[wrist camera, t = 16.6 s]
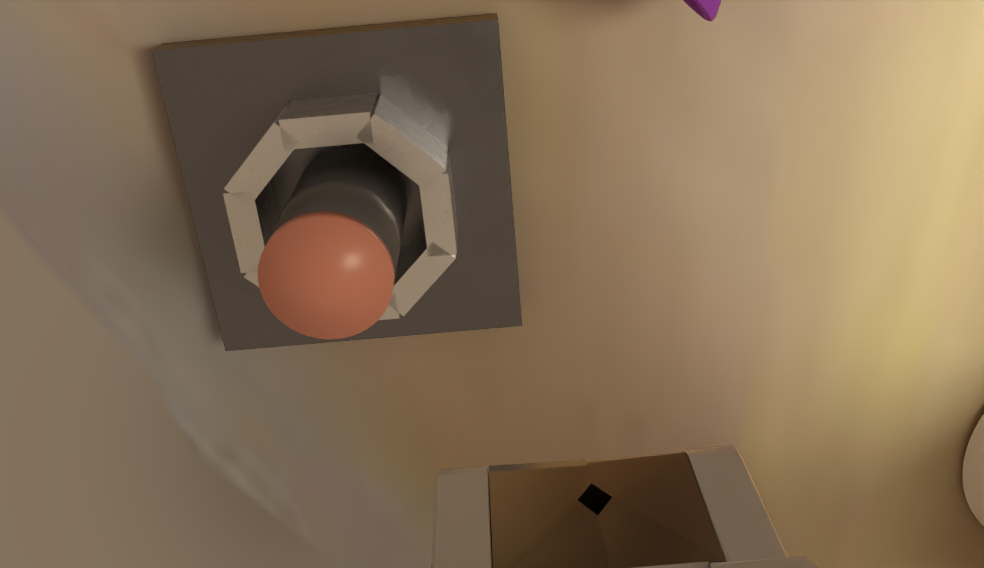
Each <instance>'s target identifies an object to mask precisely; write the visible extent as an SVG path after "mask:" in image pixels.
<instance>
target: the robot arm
mask: <svg viewBox="0 0 984 568" xmlns="http://www.w3.org/2000/svg"><path fill="white" fill-rule="evenodd" d="M962 477H963V488H964V493H965V497H966V500H967V503H968V505H969V507H970V509H971V511H972V513H973V514H974V516H975V517H976V518H977V520H978V521H979V522H980V523H981V524H982V525H983V526H984V414H983V415H982V417H981V418H980V420H979V422H978V424H977V425H976V427H975V429H974V431H973V433H972V435H971V438H970V440H969V443H968V446H967V449H966V453H965V457H964V463H963V474H962ZM431 568H822V567H821V566H819V565H818V564H816V563H814V562H813V561H811V560H810V559H808V558H807V557H805V556H797V557H788V554H787V552H786V550H785V548H784V546H783V544H782V542H781V539H780V537H779V535H778V533H777V531H776V529H775V527H774V524H773V522H772V520H771V518H770V516H769V514H768V512H767V509H766V507H765V505H764V503H763V501H762V499H761V497H760V494H759V492H758V490H757V488H756V486H755V484H754V482H753V479H752V477H751V475H750V473H749V471H748V469H747V467H746V464H745V462H744V460H743V458H742V456H741V454H740V452H739V450H738V449H736V448H735V447H734V446H732V445H729V446H720V447H711V448H702V449H693V450H684V451H683V452H682V453H670V454H658V455H647V456H635V457H624V458H612V459H601V460H589V461H586V460H578V461H562V462H546V463H529V464H513V465H497V466H489V470H488V468H487V467H472V468H459V469H445V470H439V472H438V474H437V477H436V484H435V504H434V525H433V546H432V566H431Z"/></svg>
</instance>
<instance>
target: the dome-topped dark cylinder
mask: <svg viewBox="0 0 984 568" xmlns="http://www.w3.org/2000/svg"><path fill="white" fill-rule="evenodd" d="M406 209H407V197H406V191H405V188H404V185H403V183H402V180H401V178H400V177H399V175H398V174H397V172H396V171H395V170H394V168H393V167H392V166H391V165H390V164H389V163H387V162H386V161H385V160H384V159H382V158H381V157H379V156H377V155H375V154H373V153H371V152H368V151H365V150H361V149H355V148H343V149H336V150H332V151H329V152H327V153H324V154H322V155H321V156H319V157H317V158H316V159H315V160H313V161H312V162H311V163H310V164H309V165H308V166H307V168H306V169H305V170H304V172H303V174H302V176H301V177H300V179H299V181H298V183H297V185H296V187H295V189H294V191H293V193H292V195H291V197H290V199H289V201H288V203H287V205H286V207H285V209H284V211H283V213H282V215H281V217H280V219H279V221H278V223H277V224H276V226H275V228H274V230H273V232H272V234H271V236H270V238H269V240H268V242H267V244H266V246H265V248H264V250H263V252H262V254H261V257H260V260H259V265H258V284H259V288H260V292H261V295H262V297H263V300H264V301H265V303H266V305H267V307H268V308H269V309H270V311H271V312H272V313H273V314H274V315H275V316H276V317H277V318H278V319H279V320H280V321H281V322H282V323H283V324H285V325H286V326H288V327H289V328H291V329H292V330H294V331H296V332H299V333H301V334H304V335H306V336H310V337H314V338H319V339H341V338H346V337H351V336H353V335H356V334H359V333H361V332H363V331H365V330H366V329H368V328H369V327H371V326H372V325H373V324H374V323H376V322H377V321H378V320H379V319H380V317H381V316H382V315H383V314H384V312H385V310H386V309H387V307H388V305H389V303H390V300H391V297H392V293H393V287H394V281H395V275H396V269H397V263H398V257H399V251H400V245H401V239H402V234H403V228H404V222H405V216H406Z"/></svg>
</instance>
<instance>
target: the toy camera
mask: <svg viewBox="0 0 984 568" xmlns="http://www.w3.org/2000/svg"><path fill="white" fill-rule="evenodd" d="M683 1H684V2H685V3H687V4H688V5H689V6H690V7H691V8H692V9H693V10H694V11H695V12H696V13H697V14H699V15H700V16H701V17H702V18H704V19H706V20H708V21H713V20H714V18H715V17H716V14H717V12H718V9H719V6H720V3H721V0H683Z"/></svg>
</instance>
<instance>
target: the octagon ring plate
mask: <svg viewBox="0 0 984 568" xmlns="http://www.w3.org/2000/svg"><path fill="white" fill-rule="evenodd" d="M152 55H153V59H154V63H155V67H156V71H157V75H158V79H159V83H160V87H161V91H162V95H163V99H164V103H165V107H166V111H167V115H168V119H169V124H170V128H171V132H172V136H173V140H174V144H175V148H176V152H177V156H178V160H179V164H180V168H181V172H182V176H183V180H184V184H185V188H186V192H187V196H188V201H189V205H190V209H191V213H192V217H193V221H194V225H195V229H196V233H197V237H198V241H199V245H200V249H201V253H202V257H203V261H204V265H205V269H206V274H207V278H208V282H209V286H210V290H211V294H212V298H213V302H214V306H215V310H216V314H217V318H218V322H219V326H220V330H221V334H222V338H223V342H224V346H225V351H232V350H244V349H255V348H267V347H279V346H290V345H302V344H314V343H325V342H337V341H349V340H360V339H372V338H384V337H395V336H407V335H419V334H431V333H442V332H454V331H466V330H477V329H489V328H501V327H512V326H522V319H521V307H520V294H519V281H518V268H517V256H516V243H515V230H514V217H513V204H512V192H511V179H510V166H509V153H508V140H507V128H506V115H505V102H504V89H503V76H502V64H501V51H500V38H499V25H498V17H497V13H496V14H485V15H474V16H463V17H452V18H441V19H429V20H418V21H407V22H396V23H385V24H374V25H363V26H352V27H341V28H330V29H319V30H308V31H297V32H285V33H274V34H263V35H252V36H241V37H230V38H219V39H208V40H197V41H186V42H175V43H164V44H161V45H160V46H158V47H157V48H155V49H154V50H152ZM343 148H355V149H361V150H365V151H368V152H371V153H373V154H375V155H377V156H379V157H381V158H382V159H384V160H385V161H386V162H387V163H389V164H390V165H391V166H392V167H393V168H394V170H395V171H396V172H397V174H398V175H399V177H400V178H401V180H402V183H403V185H404V188H405V191H406V197H407V209H406V216H405V222H404V228H403V234H402V239H401V245H400V251H399V257H398V263H397V269H396V275H395V281H394V287H393V293H392V297H391V300H390V303H389V305H388V307H387V309H386V310H385V312H384V314H383V315H382V316H381V317H380V319H379V320H378V321H377V322H376V323H374V324H373V325H372V326H371V327H369V328H368V329H366V330H365V331H363V332H361V333H359V334H356V335H353V336H351V337H346V338H341V339H319V338H314V337H310V336H306V335H304V334H301V333H299V332H296V331H294V330H292V329H291V328H289V327H288V326H286V325H285V324H283V323H282V322H281V321H280V320H279V319H278V318H277V317H276V316H275V315H274V314H273V313H272V312H271V311H270V309H269V308H268V307H267V305H266V303H265V301H264V300H263V297H262V295H261V292H260V288H259V284H258V265H259V260H260V257H261V254H262V252H263V250H264V248H265V246H266V244H267V242H268V240H269V238H270V236H271V234H272V232H273V230H274V228H275V226H276V224H277V223H278V221H279V219H280V217H281V215H282V213H283V211H284V209H285V207H286V205H287V203H288V201H289V199H290V197H291V195H292V193H293V191H294V189H295V187H296V185H297V183H298V181H299V179H300V177H301V176H302V174H303V172H304V170H305V169H306V168H307V166H308V165H309V164H310V163H311V162H312V161H313V160H315V159H316V158H317V157H319V156H321V155H322V154H324V153H327V152H329V151H332V150H336V149H343Z"/></svg>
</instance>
